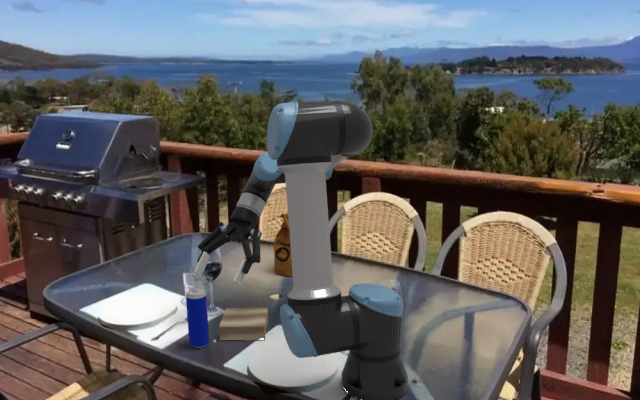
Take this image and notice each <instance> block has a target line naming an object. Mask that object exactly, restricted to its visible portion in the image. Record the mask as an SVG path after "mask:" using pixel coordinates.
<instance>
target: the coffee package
mask: <svg viewBox="0 0 640 400" xmlns="http://www.w3.org/2000/svg"><path fill="white" fill-rule="evenodd" d="M279 217H280V218H281V219H282V220H283V221H282V223H281V225H280V229H279V230H278V231H277V234H276V235H275V238H274V242H273V252H274V253H273V254H274V256H273V257H274V260H273V261H274V268H273V270H274V272H275V274H276V275H281V276H286V277H291V278H293V272H292V259H291V246H290V233H289V220H288V212H287V213H281V215H280V216H279Z"/></svg>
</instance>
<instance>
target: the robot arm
mask: <svg viewBox="0 0 640 400" xmlns="http://www.w3.org/2000/svg"><path fill="white" fill-rule="evenodd" d="M373 127H374V126H373V124H372V121H371V118H370V117H369V116H368V114H367V113H366V111H365V110H363V108H361V107H359V105H357V104H355V103H352V102H350V101H345V100H334V101H325V100H324V101H320V100H319V101H291V102H283V103H282V102H281V103H278V104H277V105H275V106H274V107H273V108H272V110H271V112H270V115H269V118H268V123H267V130H266V149H267V151H265V152H263V153H261V154H260V155H259V157H258V158H257V159H256V161H255V163H254V165H253V168H252V171H251V174H250V176H249V178H248V181H247V183H246V185H245V187H244V189H243V192H242V193H241V195H240V198H239V200H238V201H237V202H236V205H235V206H236V207H235V208H234V210H233V212H232V214H231V215H230V221H229V223H228V224H225V223H224V222H223V221H220V222H219V223H218V224H217V226H216V227H215V229H213V231H212V232H210V234H208V236H206V238H204V239H203V240H202V241H201V242H200V243H199V244H198V245H197V248H198V249H199V250H200V252H201V253H200V254H199V257H198V259H197V264H196V266H195V269H194V270H193V273H194V274H195V275H196V276H197V277H200V278H201V277H202V275H203V274H204V271H205V269H206V267H207V265H208V263H209V261H210V259H211V255H210V254H212V253H213V252H215V251H216V250H218V249H219V248H220V247H222V246H223V245H225V244H226V243H230V242H233V243H236V242H237V243H238V244H241V246H242V249H243V252H244V256H245V257H244V259H242V261H241V263H240V265H239V266H238V269H237V271H236V274H235V275H234V277H233V280H232V282H233V283H234V284H235V285H236V286H239V287H241V284H242V282H243V281H244V278H245V275H248V274H249V272H250V270H251V267H252V265H253V264H256V263H257V264H260V263H261V238H262V235H263V233H262V231H261V229H259V228H258V227H257V224H258V222H259V220H260V217H261V216H262V214H263V212H264V209H265V207H266V205H267V202H268V200H269V199H270V196H271V194H272V192H273V189H274V188H275V186H276V185H277V184H278V185H279V184H280V185H281V184H285V191H286V192H285V193H286V205H287V213H288V220H289V233H290V246H291V259H292V272H293V277H292V283H293V286H292V288H291V289H290V290H289V291H288V293H287V294H286V297H287V303H283V305H281V306H280V308H279V316H280V317H279V318H280V323H281V330H282V333H283V335H284V339H285V342H286V344H287V346H288V348H289V351H290V352H291V354H292V355H293V356H295V357H296V358H299V359H304V358H312V357H313V358H317V357H319V356H325V355H330V354H336V353H341V352H347V351H348V355H347V358H346V361H345V363H344V365H343V369H342V370H341V371H342V372H341V386H342V385H343V387H344V388H345V389H346V391H348V393H349V394H348V395H349V396H350V395H351V396H350V397H352V396H353V397H356V398H358V399H362V400H398V399H400V398H401V397H403V396H404V395H405V394H406V392H407V390H408V387H409V377H408V376H409V375H408V373H407V369H406V366H405V363H404V360H403V356H402V331H403V330H402V327H403V314H404V312H403V300H402V298H401V295H400V294H399V293H398V292H397V291H396V290H394V289H392V288H391V287H388V286H384V285H381V284H376V283H366V282H365V283H363V282H362V283H356V284H354V285H352V286H350V288H349V291H348V295H343V296H342V290H341V288H340V287H338V286H337V285H336V284H335V283H334V277H333V275H334V274H333V263H332V261H333V260H332V250H331V249H332V248H331V234H330V221H329V208H328V207H329V206H328V194H327V181H326V180H329V179H330V178H332V174H333V170H334V169H333V168H334V167H336V166H337V165H338V164H340V163H341V162H343V161H344V160H345V159H348V158H353V157H357V156H358V155H359V154H361V153H362V152H364V150H366V149H367V148H368V147H369V145H370V144H371V141H372V139H373V133H374V132H373V131H374V129H373ZM250 237H251V242H252V243H251V245H252V247H251V246H250V241H249V238H250ZM251 248H252V249H251ZM343 387H342V388H343ZM353 397H352V398H353ZM356 398H355V399H356ZM358 399H357V400H358Z"/></svg>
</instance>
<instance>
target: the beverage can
mask: <svg viewBox="0 0 640 400" xmlns="http://www.w3.org/2000/svg"><path fill="white" fill-rule="evenodd" d="M207 298H208V297H207V292H206V289H205V288H200V287H197V288H196V287H195V288H191V289H188V290H187V291H186V294H185V301H186V315H187V332H188V344H189V345H188V346H190V347H191V346H192V347H203V346H206V345H207V344H208V345H209V343H210V333H209V330H210V329H209V316H208V315H209V313H208V300H207ZM208 345H207V346H208ZM207 346H206V347H207ZM192 347H191V348H192Z"/></svg>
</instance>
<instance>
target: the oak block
mask: <svg viewBox="0 0 640 400" xmlns="http://www.w3.org/2000/svg"><path fill="white" fill-rule="evenodd" d="M268 324H269V307H225V309H224V311H223V315H222V317H221V320H220V323H219V326H218V334H219V341H220V340H245V341H259V340H258V339H260V338H265V339H266V336H267V330H268ZM265 335H266V336H265Z"/></svg>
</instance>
